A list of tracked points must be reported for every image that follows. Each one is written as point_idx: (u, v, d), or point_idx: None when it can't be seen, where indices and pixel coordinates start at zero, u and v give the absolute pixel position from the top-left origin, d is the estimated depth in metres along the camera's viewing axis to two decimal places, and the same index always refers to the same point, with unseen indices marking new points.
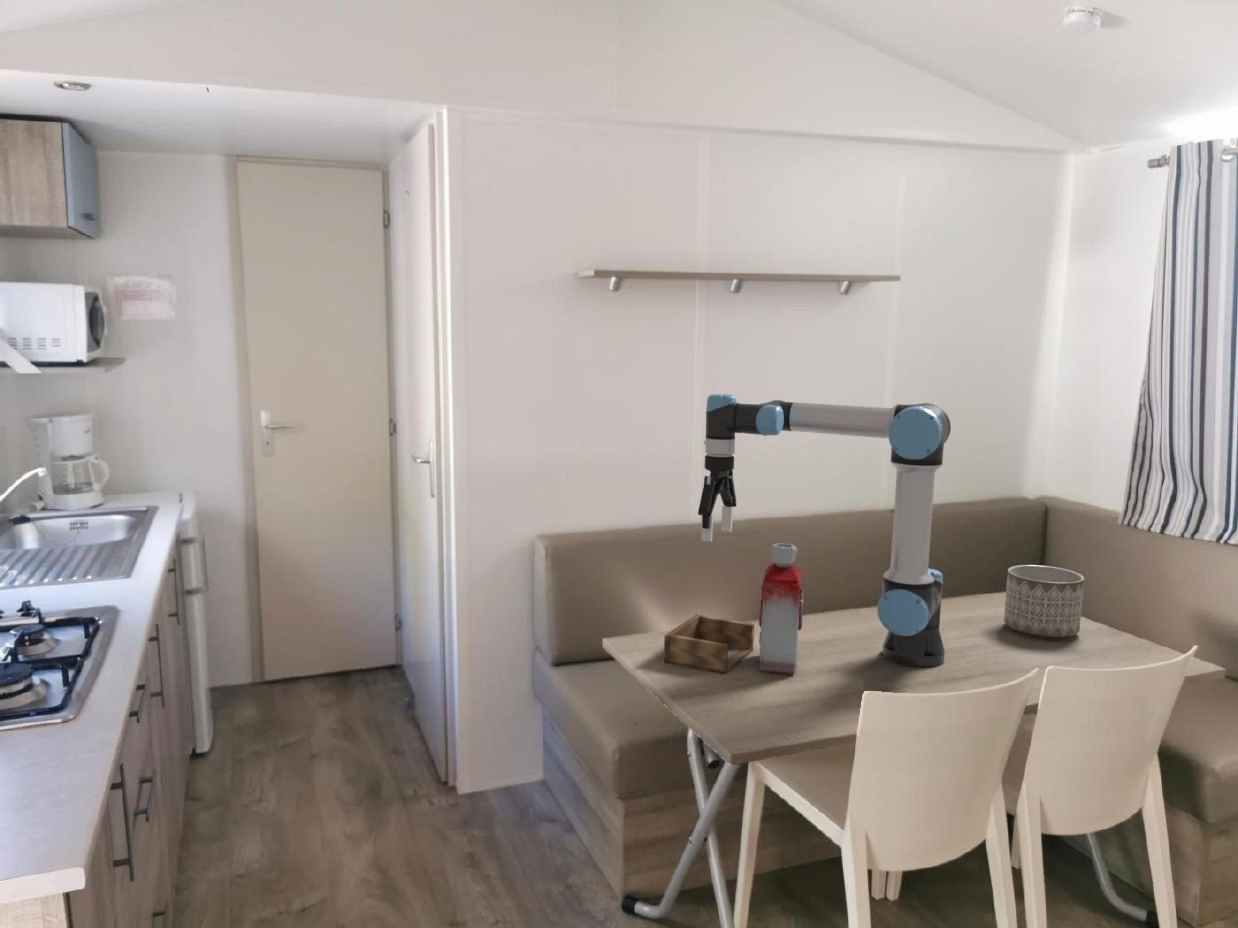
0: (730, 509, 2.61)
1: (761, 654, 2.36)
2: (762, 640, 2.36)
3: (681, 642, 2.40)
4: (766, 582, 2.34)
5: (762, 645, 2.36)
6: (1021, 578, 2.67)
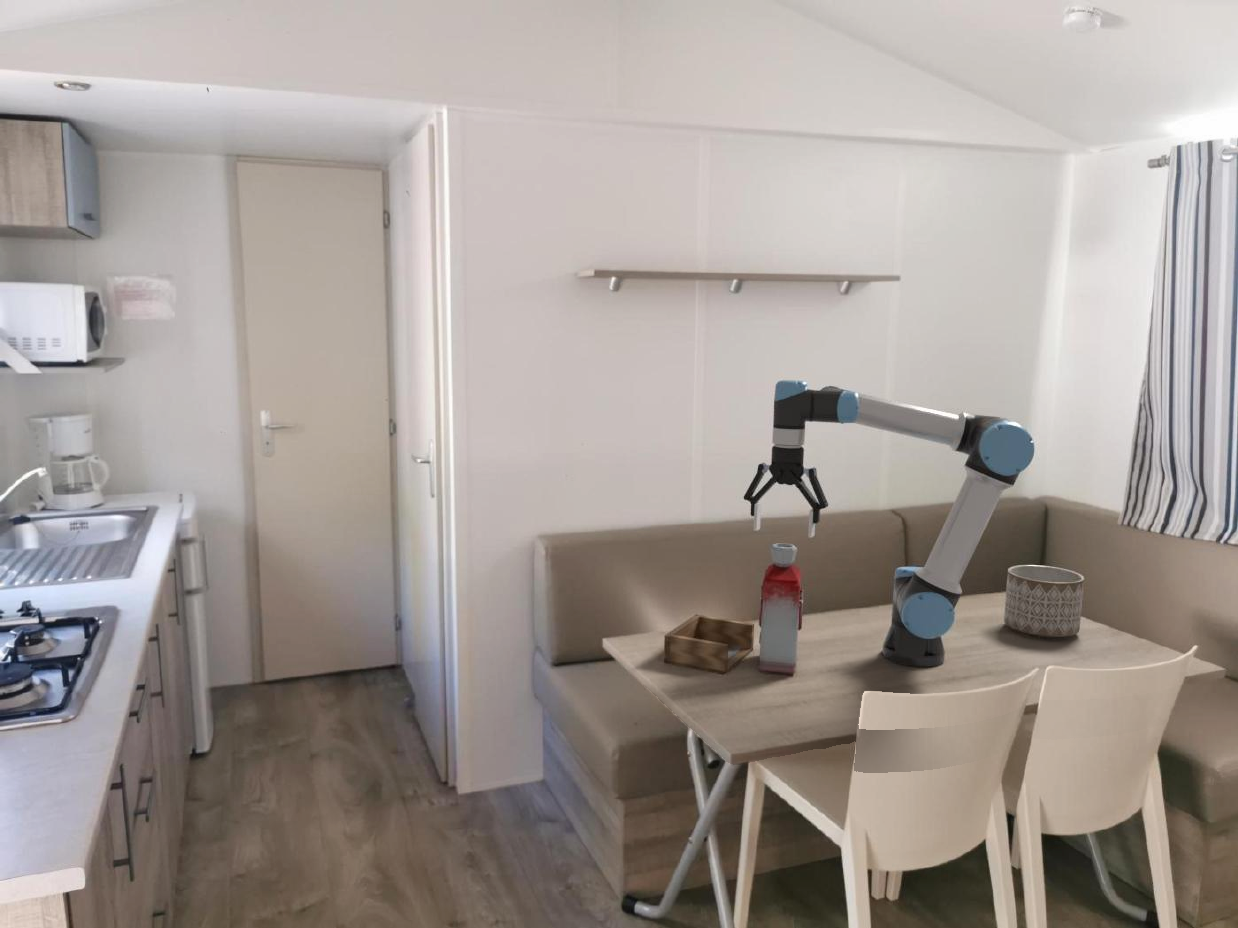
0: None
1: (761, 654, 2.36)
2: (762, 640, 2.36)
3: (681, 642, 2.40)
4: (766, 582, 2.34)
5: (762, 645, 2.36)
6: (1021, 578, 2.67)
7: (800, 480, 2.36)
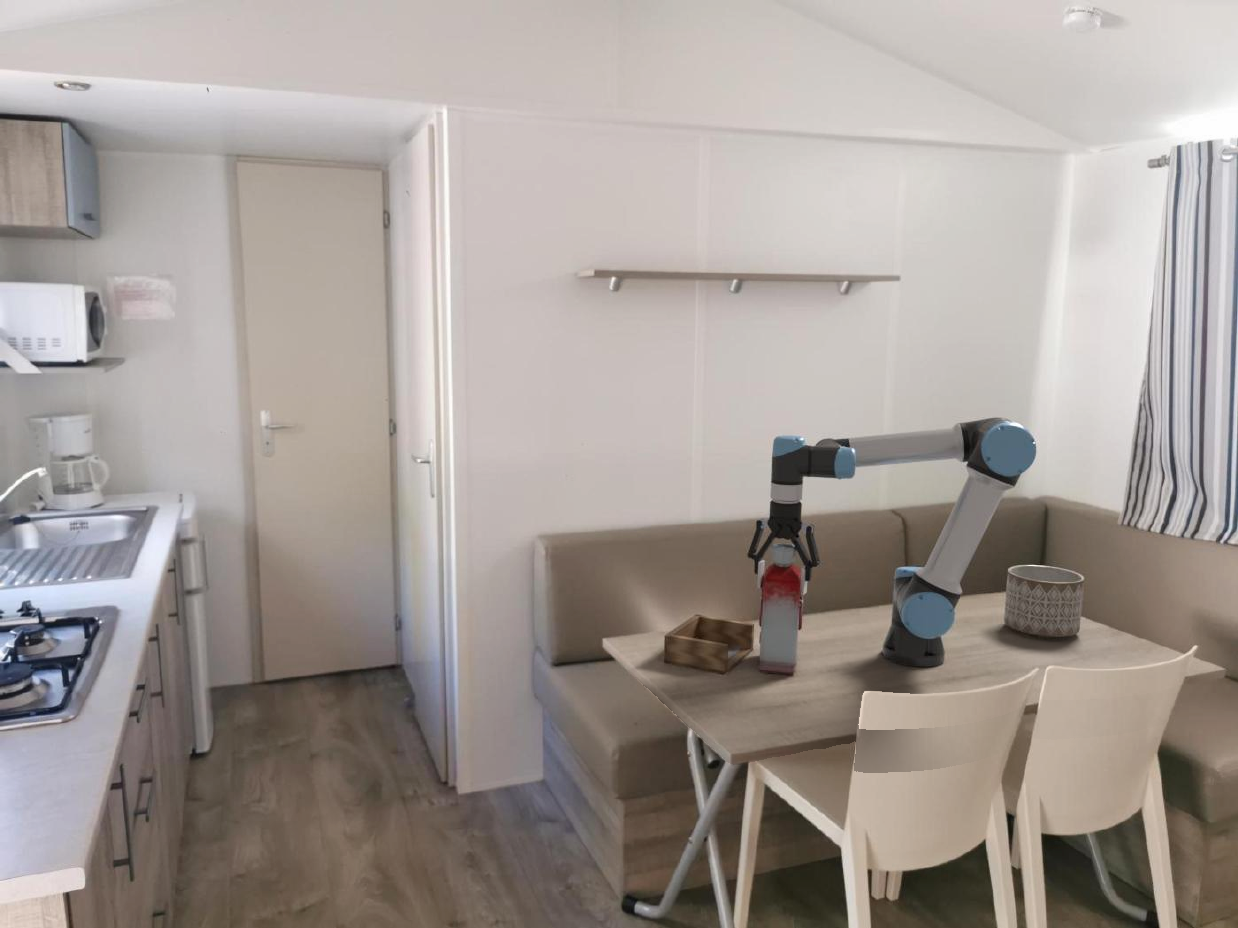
0: None
1: (761, 654, 2.37)
2: (762, 640, 2.36)
3: (681, 642, 2.40)
4: (766, 582, 2.34)
5: (762, 645, 2.36)
6: (1021, 578, 2.67)
7: (797, 535, 2.38)
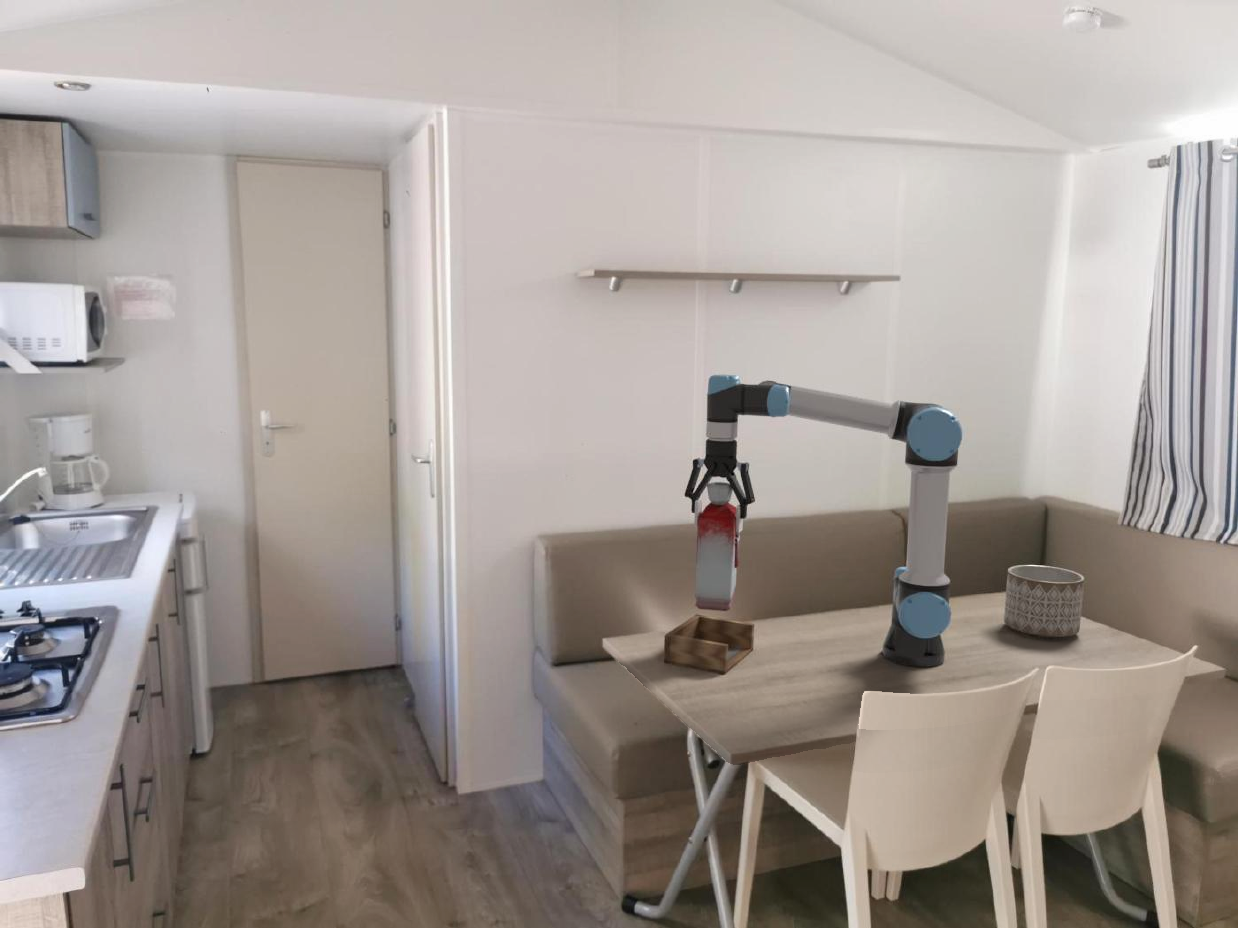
0: None
1: (697, 590, 2.39)
2: (697, 576, 2.38)
3: (681, 642, 2.40)
4: (701, 519, 2.36)
5: (697, 581, 2.38)
6: (1021, 578, 2.67)
7: (732, 474, 2.41)
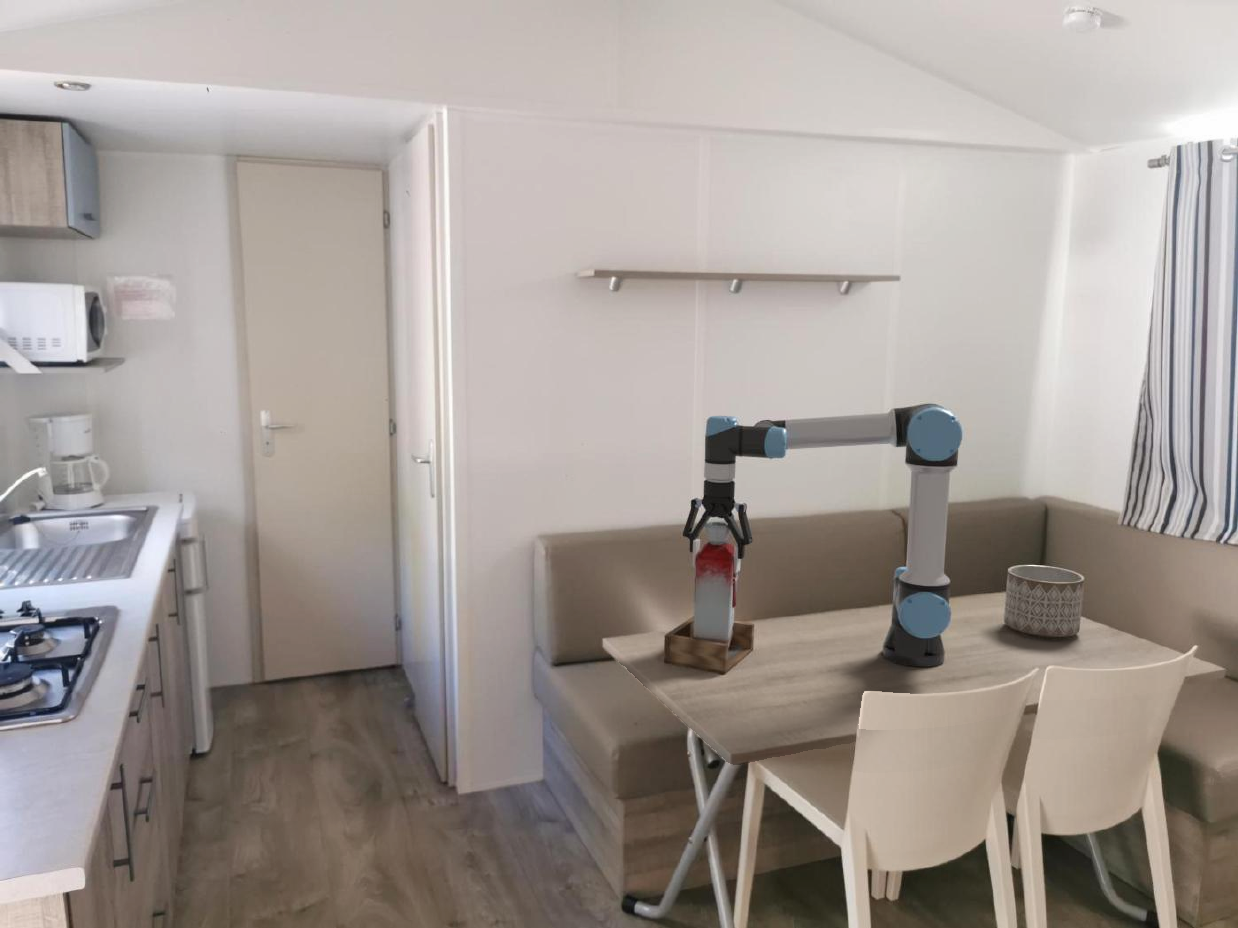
0: None
1: (695, 630, 2.40)
2: (695, 617, 2.40)
3: (681, 642, 2.40)
4: (699, 560, 2.38)
5: (695, 621, 2.40)
6: (1021, 578, 2.67)
7: (730, 514, 2.42)
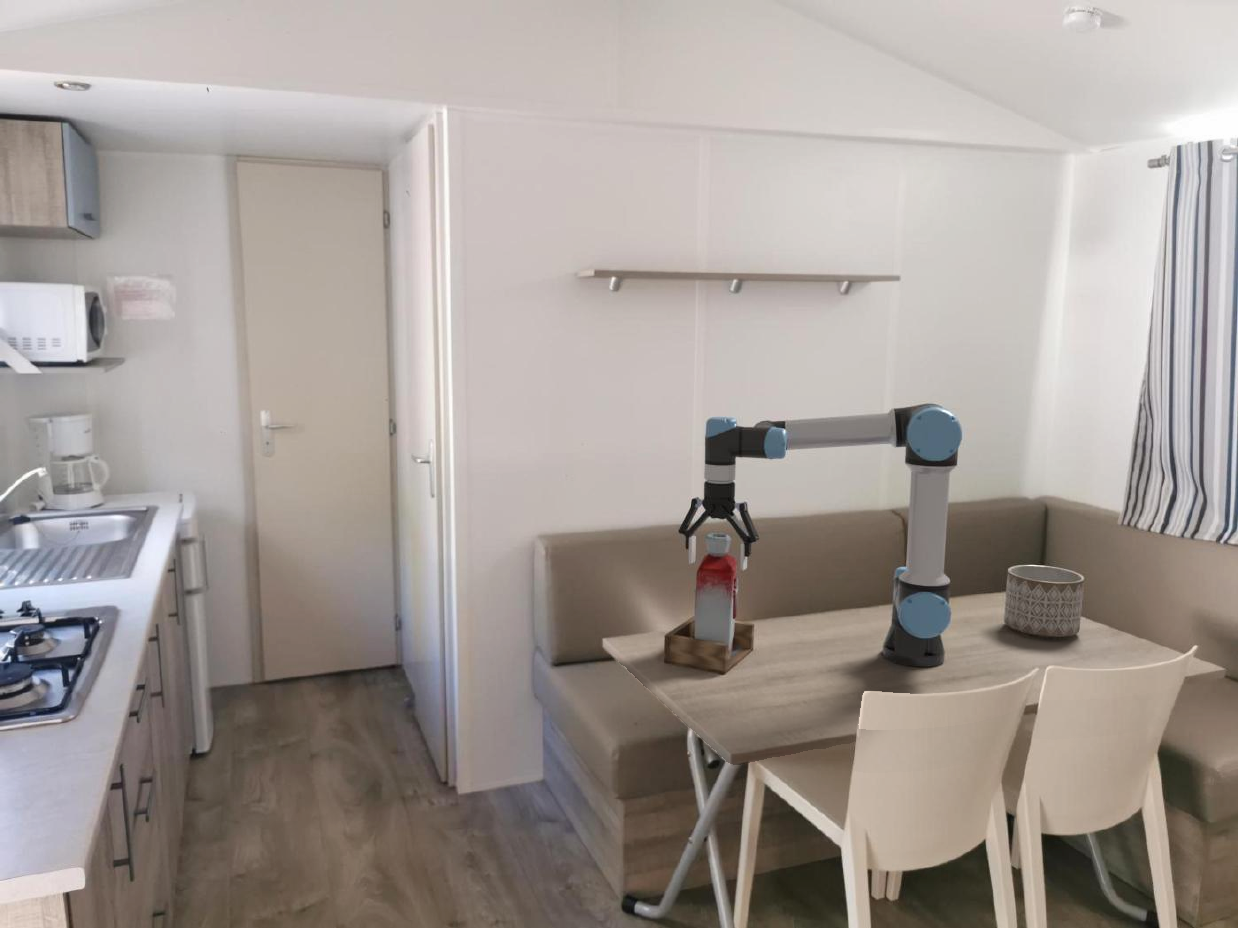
0: None
1: None
2: (696, 628, 2.40)
3: (681, 642, 2.40)
4: (699, 571, 2.38)
5: (696, 633, 2.40)
6: (1021, 578, 2.67)
7: (732, 514, 2.42)
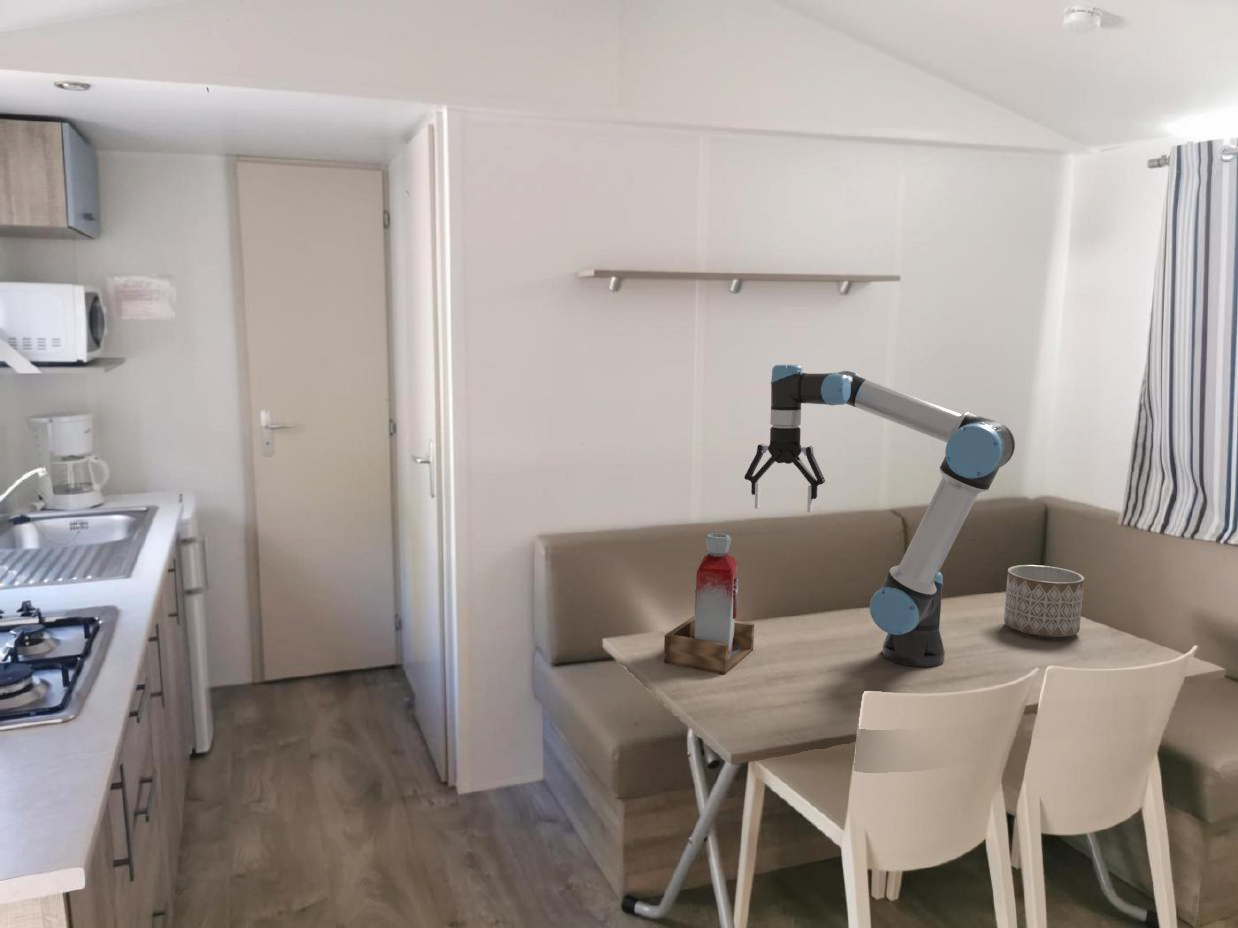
0: None
1: None
2: (696, 628, 2.40)
3: (681, 642, 2.40)
4: (699, 571, 2.38)
5: (696, 633, 2.40)
6: (1021, 578, 2.67)
7: (798, 459, 2.50)
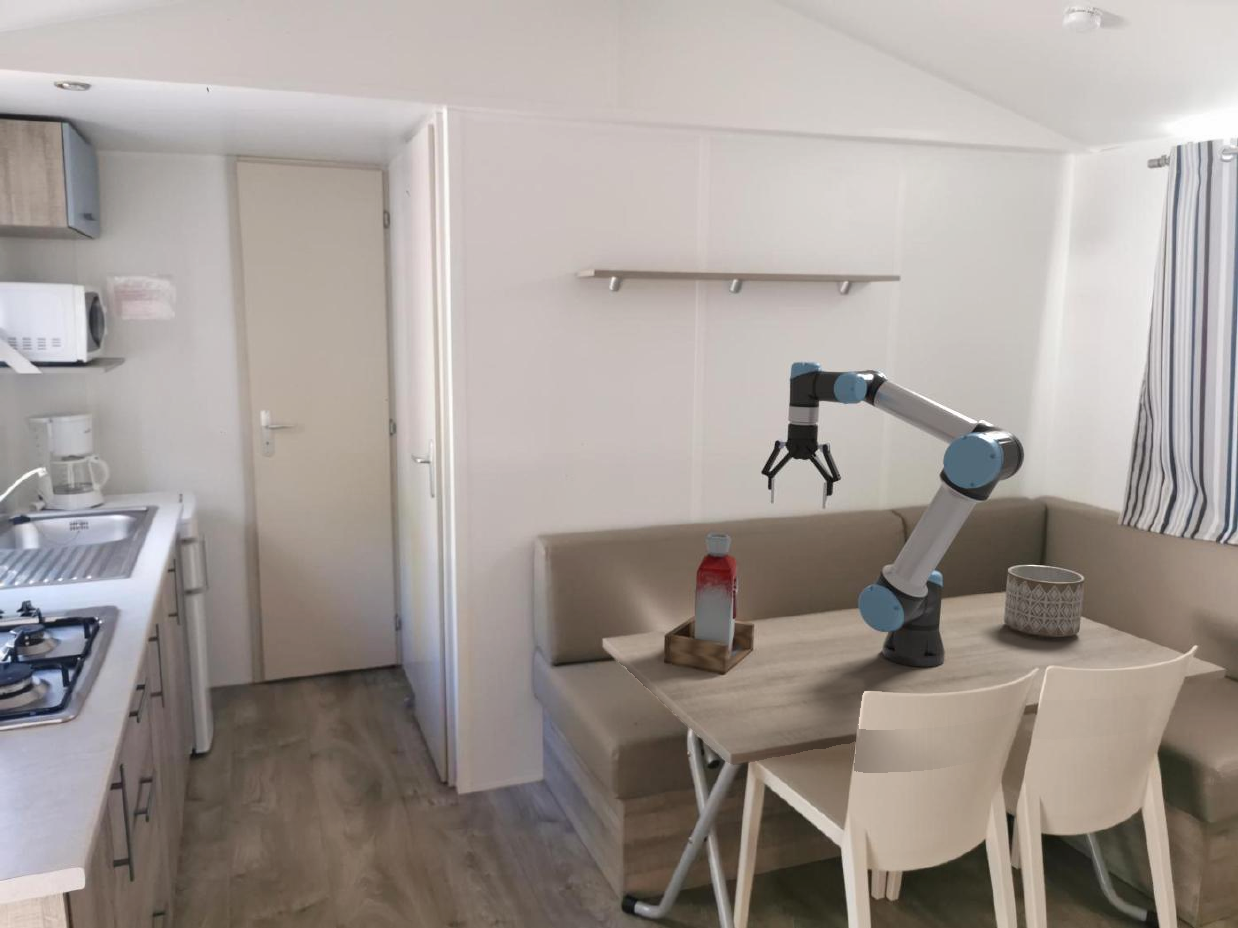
0: None
1: None
2: (696, 628, 2.40)
3: (681, 642, 2.40)
4: (699, 571, 2.38)
5: (696, 633, 2.40)
6: (1021, 578, 2.67)
7: (814, 455, 2.52)
